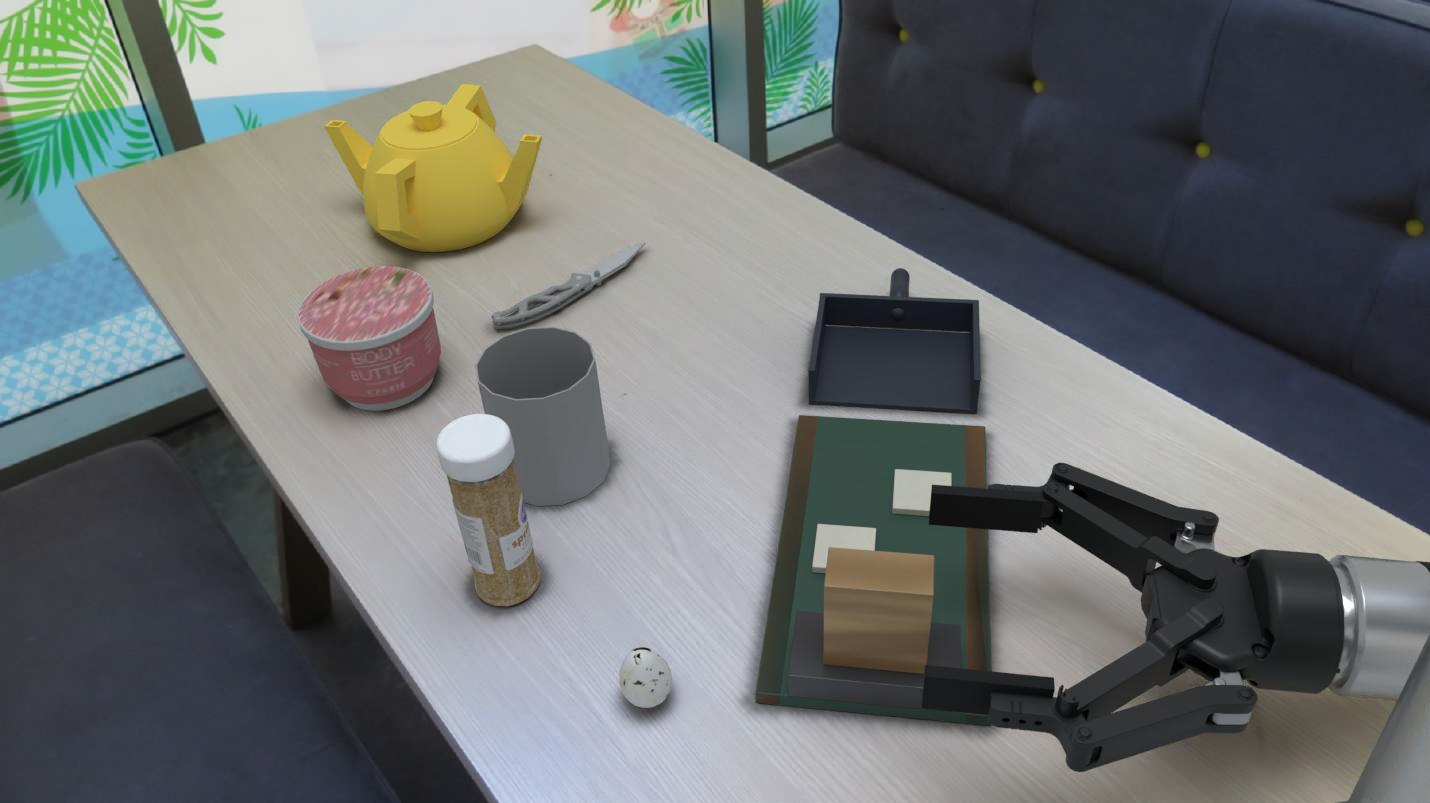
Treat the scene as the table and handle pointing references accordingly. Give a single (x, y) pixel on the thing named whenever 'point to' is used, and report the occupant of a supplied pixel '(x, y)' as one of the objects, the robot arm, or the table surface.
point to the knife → (575, 284)
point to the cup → (548, 411)
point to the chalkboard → (877, 538)
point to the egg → (645, 677)
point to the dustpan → (896, 351)
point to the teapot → (438, 173)
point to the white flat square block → (840, 542)
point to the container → (373, 335)
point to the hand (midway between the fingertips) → (926, 588)
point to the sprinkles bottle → (489, 507)
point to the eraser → (872, 631)
